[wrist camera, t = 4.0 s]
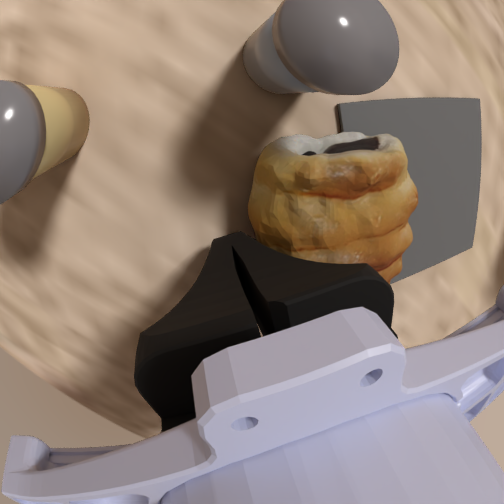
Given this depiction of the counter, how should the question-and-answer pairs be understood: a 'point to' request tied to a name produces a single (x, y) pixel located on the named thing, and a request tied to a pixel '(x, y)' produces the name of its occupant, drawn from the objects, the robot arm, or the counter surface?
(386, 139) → the pastry
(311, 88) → the jar slate blue
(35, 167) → the jar mustard
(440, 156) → the slate mat
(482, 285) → the counter surface
